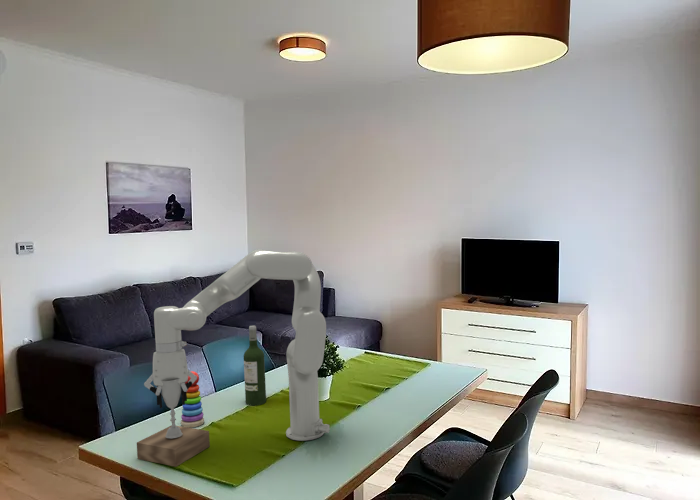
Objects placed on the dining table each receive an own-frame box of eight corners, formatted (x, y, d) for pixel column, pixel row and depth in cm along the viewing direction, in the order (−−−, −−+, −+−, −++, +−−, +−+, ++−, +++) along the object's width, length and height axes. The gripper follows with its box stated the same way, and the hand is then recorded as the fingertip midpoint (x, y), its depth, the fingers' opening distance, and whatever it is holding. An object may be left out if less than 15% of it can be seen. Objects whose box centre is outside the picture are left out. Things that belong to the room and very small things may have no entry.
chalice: (178, 440, 164) (174, 381, 163) (157, 439, 165) (154, 380, 164) (189, 431, 171) (186, 374, 170) (170, 430, 172) (166, 373, 172)
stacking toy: (183, 430, 187) (180, 376, 186) (179, 422, 194) (176, 370, 193) (206, 425, 190) (204, 372, 189) (201, 418, 197) (199, 367, 196)
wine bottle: (241, 404, 211) (238, 327, 209) (252, 398, 218) (249, 323, 217) (259, 406, 208) (255, 328, 206) (270, 400, 215) (266, 324, 214)
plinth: (209, 446, 172) (208, 431, 172) (175, 466, 159) (175, 449, 158) (173, 440, 178) (172, 425, 178) (137, 458, 165) (136, 442, 165)
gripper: (197, 341, 173) (200, 397, 174) (138, 348, 167) (142, 405, 168) (199, 346, 166) (202, 404, 167) (138, 353, 160) (142, 413, 161)
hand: (172, 404), depth 168 cm, fingers closed on chalice, 6 cm apart
